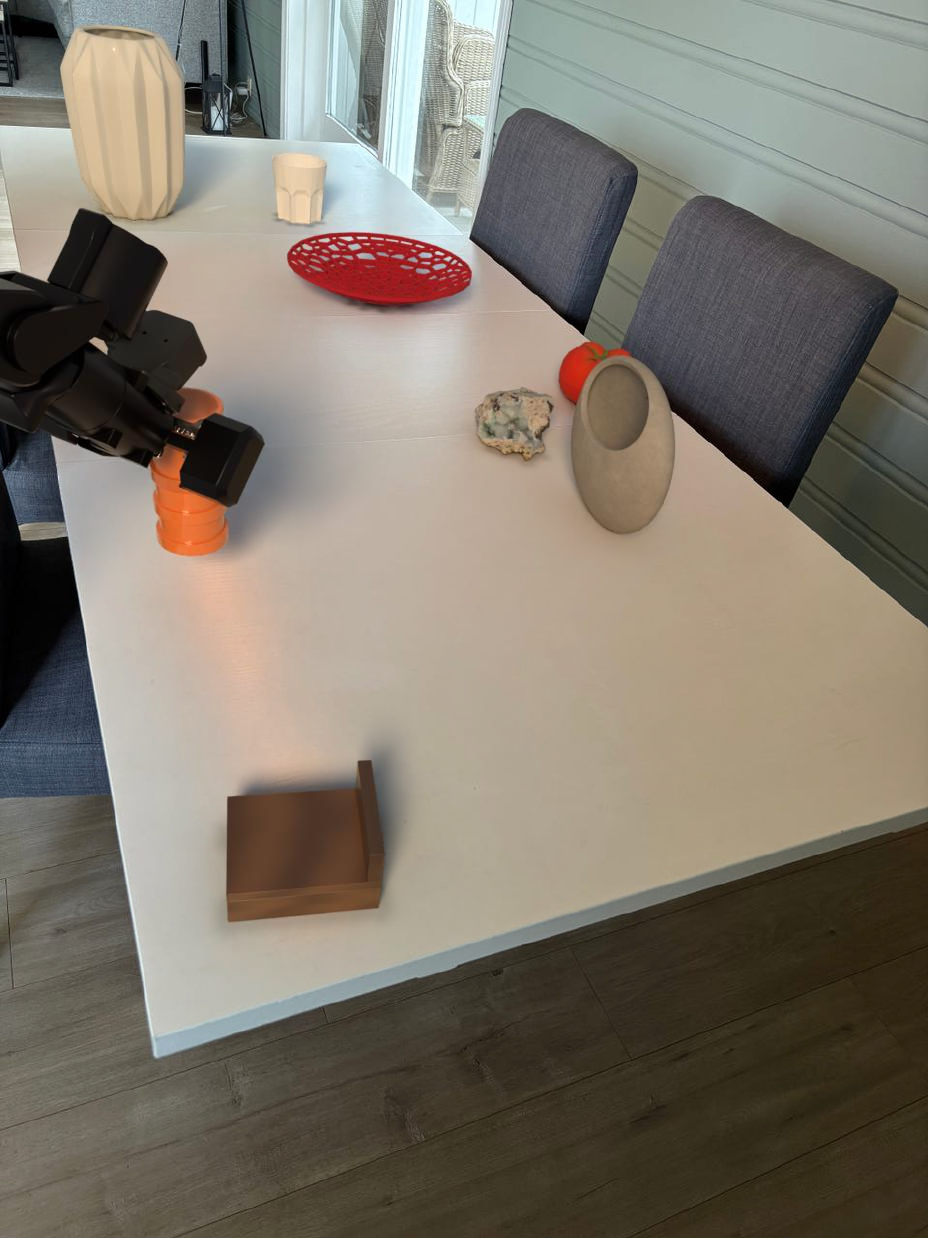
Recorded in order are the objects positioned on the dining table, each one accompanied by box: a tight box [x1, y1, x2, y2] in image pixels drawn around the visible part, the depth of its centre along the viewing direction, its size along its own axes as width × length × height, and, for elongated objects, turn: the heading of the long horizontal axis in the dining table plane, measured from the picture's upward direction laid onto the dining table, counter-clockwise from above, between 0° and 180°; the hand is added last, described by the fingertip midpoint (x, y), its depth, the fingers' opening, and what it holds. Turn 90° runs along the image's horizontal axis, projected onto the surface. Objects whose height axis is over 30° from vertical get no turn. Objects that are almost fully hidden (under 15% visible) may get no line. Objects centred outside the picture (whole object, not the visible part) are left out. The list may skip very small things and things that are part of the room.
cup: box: [271, 152, 328, 225], centre depth 170 cm, size 10×10×10 cm
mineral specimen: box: [474, 386, 556, 461], centre depth 114 cm, size 10×8×10 cm
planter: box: [570, 355, 676, 535], centre depth 98 cm, size 18×7×19 cm, turn 20°
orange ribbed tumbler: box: [149, 386, 230, 557], centre depth 78 cm, size 6×6×13 cm
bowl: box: [286, 231, 473, 306], centre depth 147 cm, size 29×29×5 cm
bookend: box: [225, 759, 386, 923], centre depth 62 cm, size 10×8×6 cm
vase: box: [59, 24, 186, 221], centre depth 156 cm, size 20×20×28 cm
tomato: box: [558, 341, 632, 405], centre depth 125 cm, size 11×11×8 cm
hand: (199, 466), depth 79 cm, fingers closed on orange ribbed tumbler, 6 cm apart
